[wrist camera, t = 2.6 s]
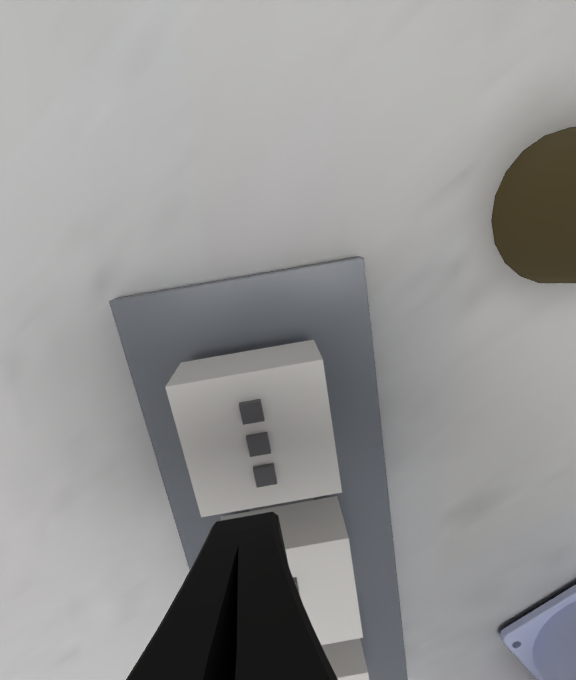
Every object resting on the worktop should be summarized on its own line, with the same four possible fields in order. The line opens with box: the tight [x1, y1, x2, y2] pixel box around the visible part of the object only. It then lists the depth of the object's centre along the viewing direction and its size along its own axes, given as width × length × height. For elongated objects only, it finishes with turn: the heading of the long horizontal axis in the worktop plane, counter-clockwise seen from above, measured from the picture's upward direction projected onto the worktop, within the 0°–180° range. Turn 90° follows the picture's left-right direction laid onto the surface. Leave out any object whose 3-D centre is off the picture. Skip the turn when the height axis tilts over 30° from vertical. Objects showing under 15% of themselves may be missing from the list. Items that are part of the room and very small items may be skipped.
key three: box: [165, 340, 342, 517], centre depth 14 cm, size 5×5×2 cm
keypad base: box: [109, 257, 408, 680], centre depth 18 cm, size 24×10×2 cm, turn 9°
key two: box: [220, 496, 363, 645], centre depth 16 cm, size 5×5×2 cm
